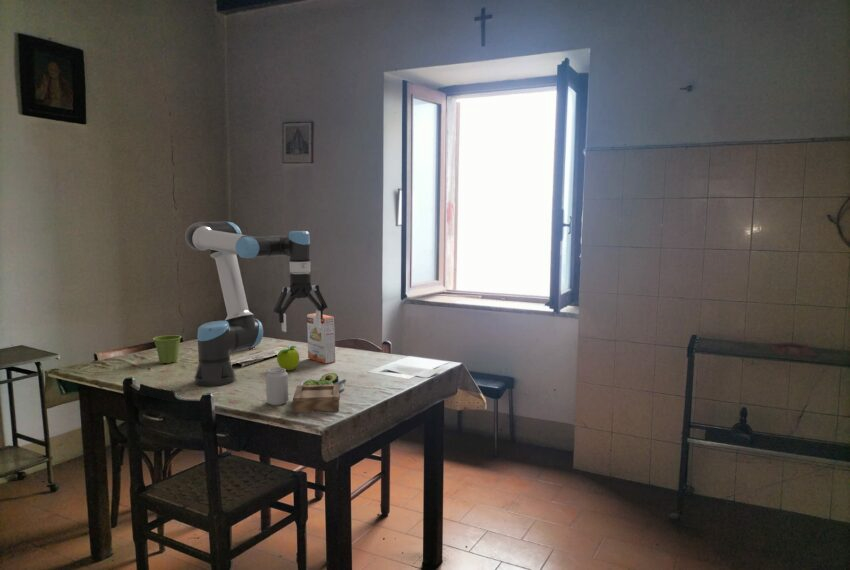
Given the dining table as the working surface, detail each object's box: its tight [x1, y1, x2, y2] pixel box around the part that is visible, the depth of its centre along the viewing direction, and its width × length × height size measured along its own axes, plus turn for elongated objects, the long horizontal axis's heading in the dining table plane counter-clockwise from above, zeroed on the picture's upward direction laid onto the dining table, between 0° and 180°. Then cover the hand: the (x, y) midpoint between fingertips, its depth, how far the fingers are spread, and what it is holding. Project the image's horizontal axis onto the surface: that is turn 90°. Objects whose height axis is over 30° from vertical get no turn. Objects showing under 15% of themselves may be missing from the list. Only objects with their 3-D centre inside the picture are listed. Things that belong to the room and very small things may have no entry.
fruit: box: [276, 345, 300, 371], centre depth 255 cm, size 9×9×10 cm
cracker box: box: [306, 312, 336, 365], centre depth 271 cm, size 14×6×21 cm, turn 44°
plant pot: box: [152, 334, 182, 364], centre depth 268 cm, size 12×12×11 cm
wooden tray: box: [292, 384, 341, 414], centre depth 208 cm, size 15×15×5 cm
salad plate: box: [299, 372, 347, 392], centre depth 227 cm, size 19×18×5 cm
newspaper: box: [230, 346, 289, 368], centre depth 275 cm, size 35×12×4 cm, turn 156°
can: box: [265, 367, 289, 406], centre depth 210 cm, size 8×8×12 cm
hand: (301, 329), depth 224 cm, fingers open, 13 cm apart
